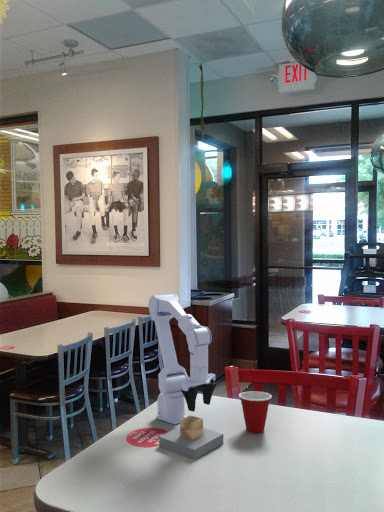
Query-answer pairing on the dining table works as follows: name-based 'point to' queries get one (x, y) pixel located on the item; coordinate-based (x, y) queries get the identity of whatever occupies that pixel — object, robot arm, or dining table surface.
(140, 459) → the dining table surface
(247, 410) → the plastic cup
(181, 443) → the slate base
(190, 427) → the oak cube
